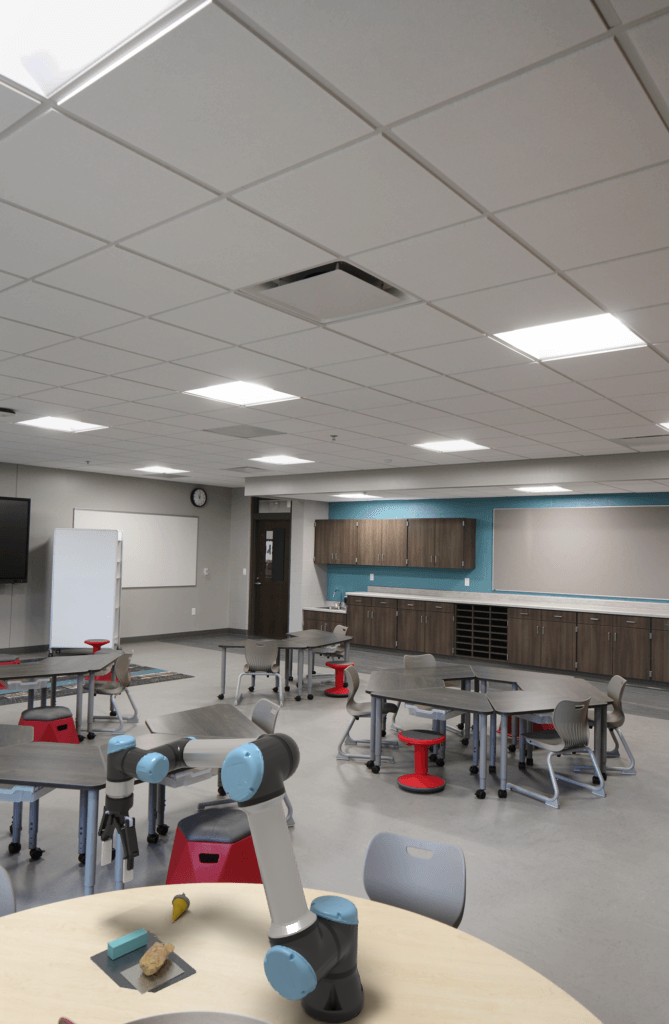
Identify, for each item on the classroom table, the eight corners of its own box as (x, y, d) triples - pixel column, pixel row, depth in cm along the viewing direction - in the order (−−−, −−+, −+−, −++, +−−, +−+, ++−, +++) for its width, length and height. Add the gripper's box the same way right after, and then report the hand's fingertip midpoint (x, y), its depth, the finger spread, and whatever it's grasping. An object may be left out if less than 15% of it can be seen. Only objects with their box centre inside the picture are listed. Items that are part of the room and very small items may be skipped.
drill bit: (194, 889, 198) (182, 918, 188) (192, 902, 199) (180, 931, 190) (177, 884, 198) (164, 913, 189) (176, 897, 200) (163, 926, 190)
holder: (196, 974, 167) (196, 970, 167) (135, 1007, 155) (135, 1002, 155) (148, 934, 184) (148, 929, 184) (90, 960, 172) (90, 956, 172)
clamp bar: (147, 943, 177) (147, 932, 178) (112, 959, 170) (113, 948, 170) (141, 939, 180) (142, 927, 180) (107, 954, 172) (107, 943, 173)
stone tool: (155, 959, 162) (152, 925, 171) (135, 980, 161) (133, 945, 170) (182, 972, 165) (177, 939, 174) (162, 993, 165) (158, 959, 174)
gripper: (154, 802, 176) (151, 884, 175) (112, 778, 193) (109, 852, 192) (128, 810, 171) (125, 894, 170) (87, 784, 188) (84, 861, 187)
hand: (116, 872), depth 181 cm, fingers open, 12 cm apart
